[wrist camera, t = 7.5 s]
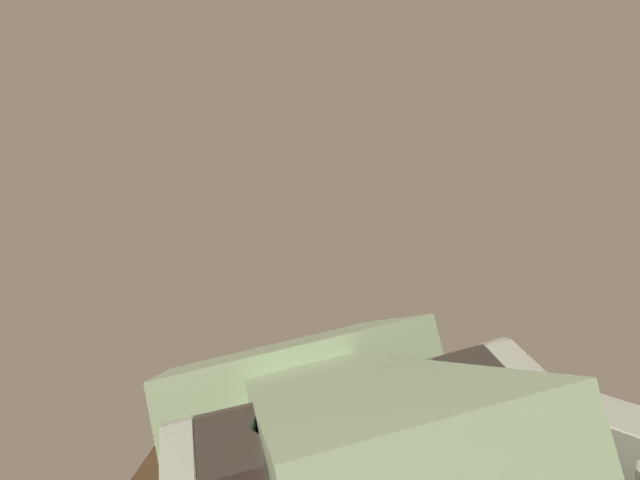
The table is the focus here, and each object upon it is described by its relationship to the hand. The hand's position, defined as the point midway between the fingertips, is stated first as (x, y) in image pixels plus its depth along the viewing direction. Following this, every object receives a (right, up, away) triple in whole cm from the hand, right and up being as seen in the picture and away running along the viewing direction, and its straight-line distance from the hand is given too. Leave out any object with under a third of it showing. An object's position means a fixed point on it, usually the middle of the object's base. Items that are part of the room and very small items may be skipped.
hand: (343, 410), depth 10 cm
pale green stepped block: (0, -2, +4) cm, 5 cm away
